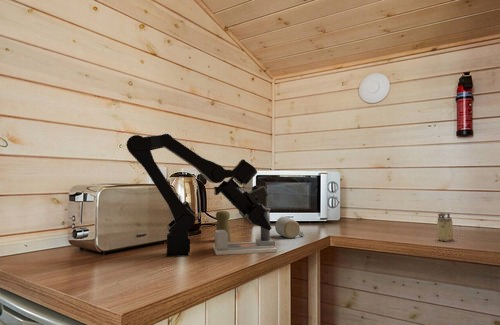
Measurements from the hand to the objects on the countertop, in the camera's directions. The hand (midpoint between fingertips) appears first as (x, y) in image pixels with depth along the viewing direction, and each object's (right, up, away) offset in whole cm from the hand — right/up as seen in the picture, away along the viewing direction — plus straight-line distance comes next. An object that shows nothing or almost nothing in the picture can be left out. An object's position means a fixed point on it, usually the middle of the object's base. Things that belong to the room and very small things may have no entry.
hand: (269, 228), depth 109 cm
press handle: (-1, -5, -1) cm, 5 cm away
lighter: (+67, -7, +15) cm, 69 cm away
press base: (-8, -6, -2) cm, 11 cm away
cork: (-16, -7, +14) cm, 23 cm away
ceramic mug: (+10, -8, +22) cm, 25 cm away
